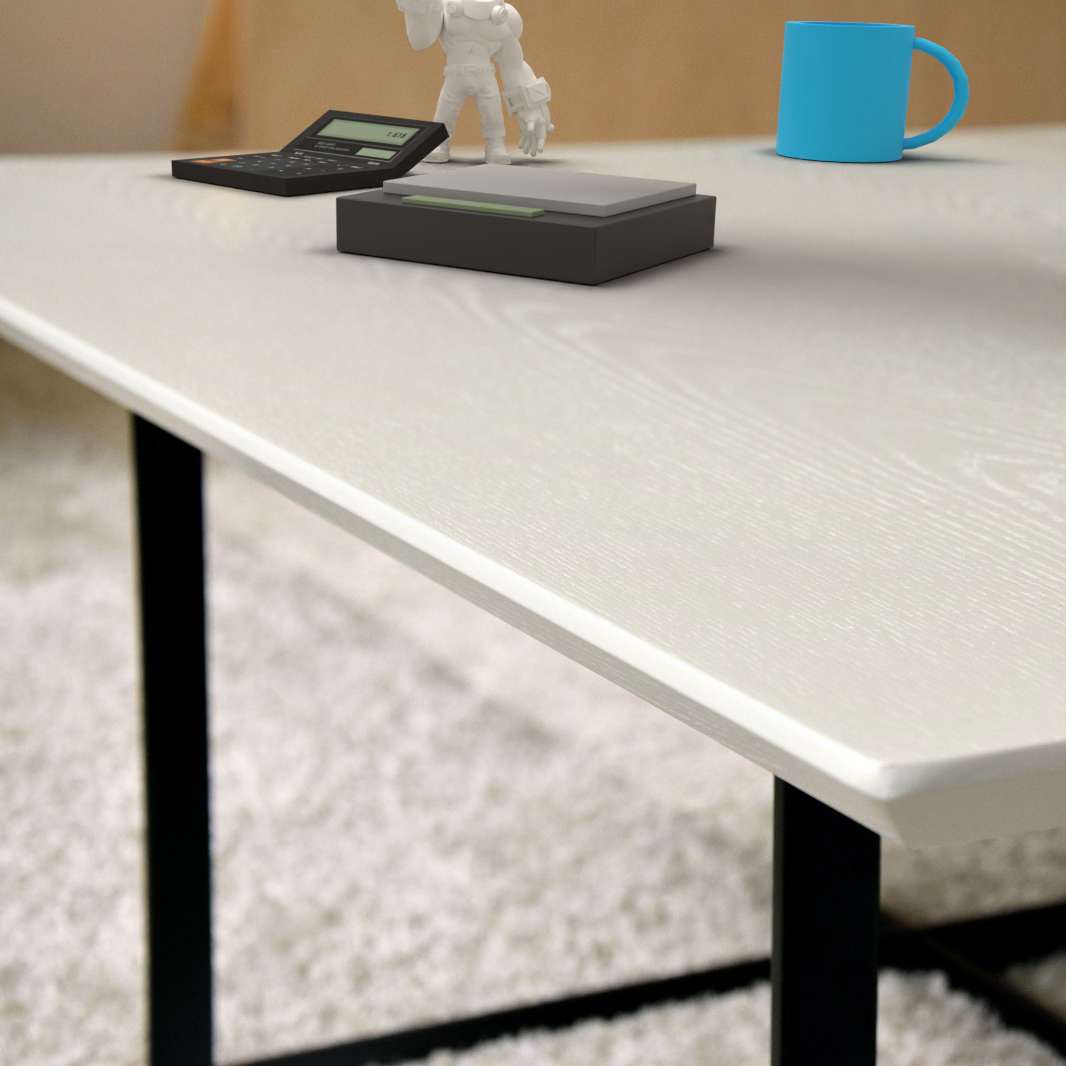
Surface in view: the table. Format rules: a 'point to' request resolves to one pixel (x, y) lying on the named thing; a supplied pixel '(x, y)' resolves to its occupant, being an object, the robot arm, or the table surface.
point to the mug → (855, 91)
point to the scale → (529, 221)
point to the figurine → (481, 71)
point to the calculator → (325, 156)
